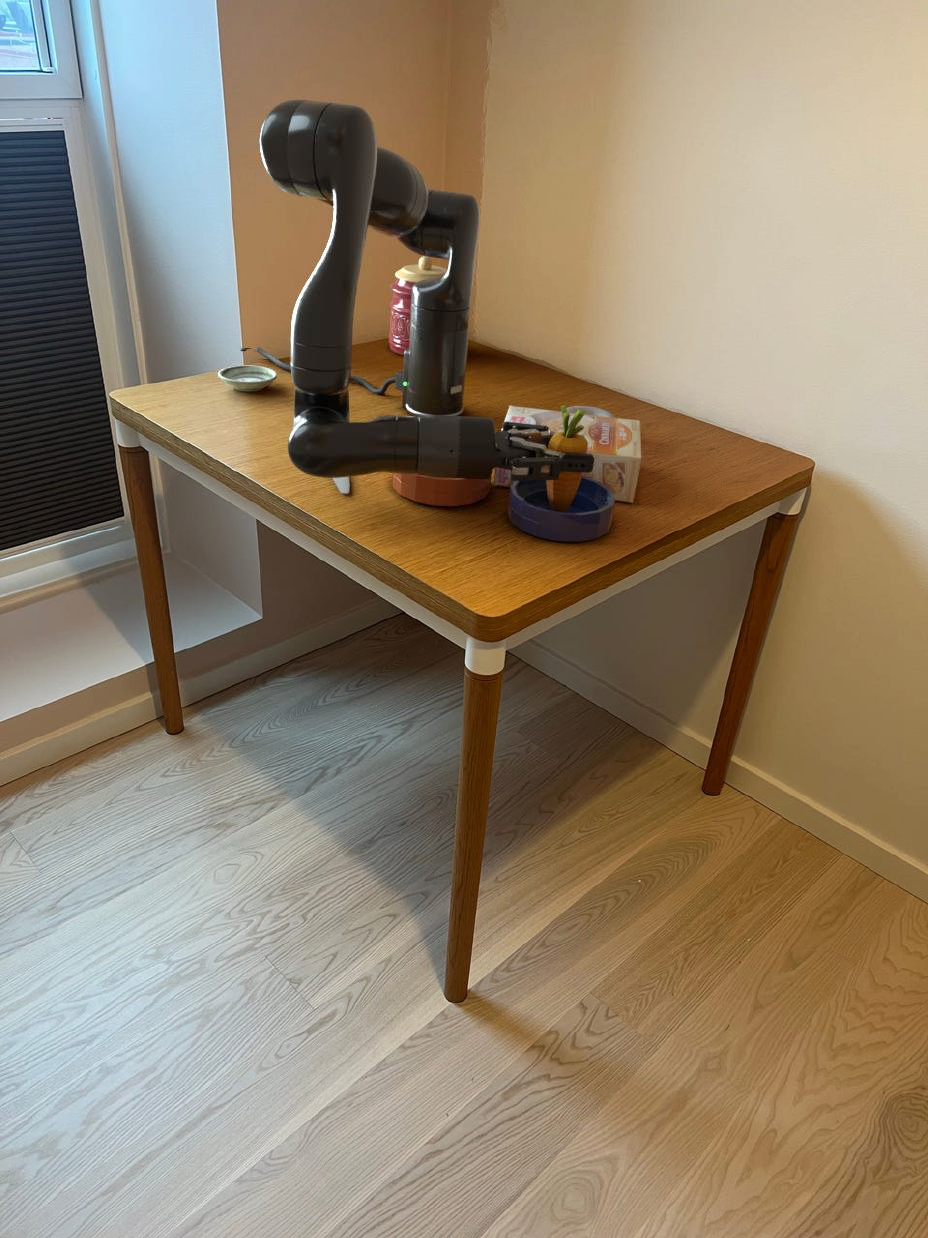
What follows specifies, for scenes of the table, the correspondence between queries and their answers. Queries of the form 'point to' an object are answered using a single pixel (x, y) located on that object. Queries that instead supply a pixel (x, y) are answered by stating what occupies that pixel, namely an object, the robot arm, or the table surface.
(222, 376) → the saucer
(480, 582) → the table surface
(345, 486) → the butter knife
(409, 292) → the kitchen canister
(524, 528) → the indigo bowl
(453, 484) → the terracotta bowl
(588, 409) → the donut
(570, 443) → the carrot
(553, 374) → the table surface
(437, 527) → the table surface
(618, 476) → the coffeecake box
